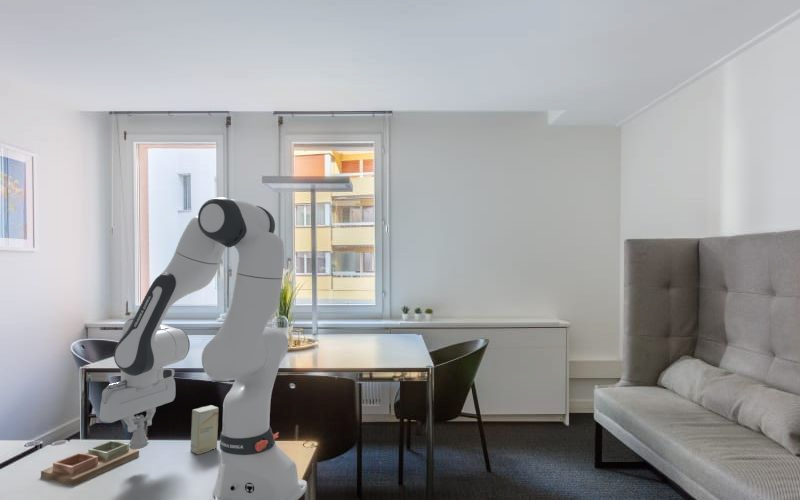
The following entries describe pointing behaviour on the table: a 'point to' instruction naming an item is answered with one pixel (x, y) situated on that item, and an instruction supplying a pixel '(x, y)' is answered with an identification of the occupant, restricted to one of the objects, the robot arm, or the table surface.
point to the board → (90, 463)
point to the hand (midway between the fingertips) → (139, 428)
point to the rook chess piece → (139, 434)
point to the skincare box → (204, 429)
